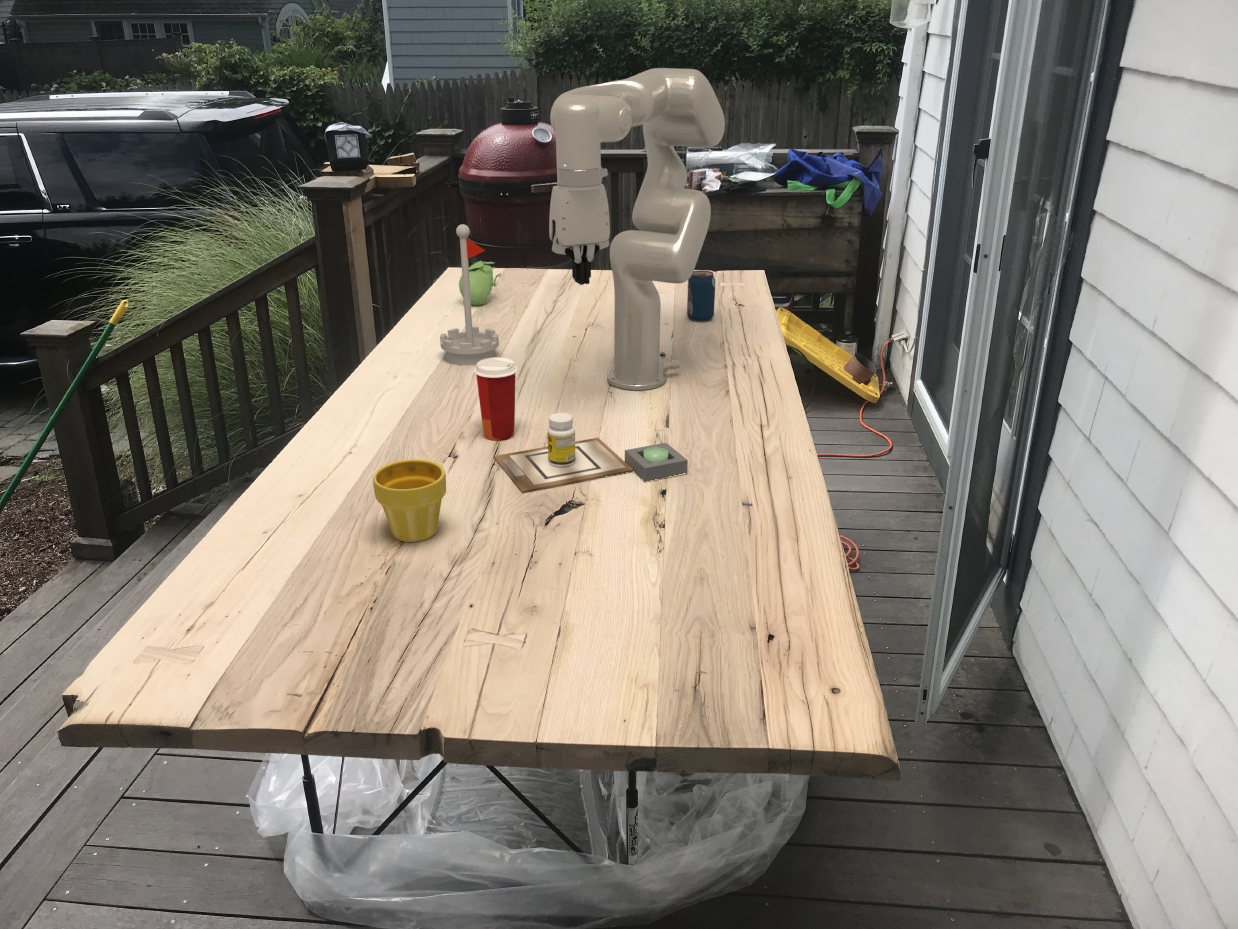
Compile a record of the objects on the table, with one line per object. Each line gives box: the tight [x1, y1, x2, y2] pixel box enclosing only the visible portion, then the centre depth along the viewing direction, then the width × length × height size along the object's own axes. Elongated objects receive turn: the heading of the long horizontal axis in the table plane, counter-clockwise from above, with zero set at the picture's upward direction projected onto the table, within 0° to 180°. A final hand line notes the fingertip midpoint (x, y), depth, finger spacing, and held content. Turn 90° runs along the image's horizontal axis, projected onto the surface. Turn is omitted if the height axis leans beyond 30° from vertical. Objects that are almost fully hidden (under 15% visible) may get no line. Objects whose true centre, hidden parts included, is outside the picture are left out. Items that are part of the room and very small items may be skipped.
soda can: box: [686, 269, 717, 323], centre depth 242 cm, size 7×7×12 cm
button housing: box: [624, 442, 689, 482], centre depth 162 cm, size 8×8×3 cm
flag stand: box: [439, 223, 500, 367], centre depth 210 cm, size 13×13×30 cm
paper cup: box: [473, 356, 518, 442], centre depth 173 cm, size 8×8×14 cm
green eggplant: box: [458, 260, 502, 306], centre depth 255 cm, size 12×11×11 cm
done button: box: [644, 447, 668, 463], centre depth 162 cm, size 4×4×3 cm
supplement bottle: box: [546, 412, 576, 467], centre depth 162 cm, size 5×5×8 cm
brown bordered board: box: [493, 437, 633, 494], centre depth 164 cm, size 20×15×1 cm
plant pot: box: [372, 458, 447, 543], centre depth 141 cm, size 10×10×10 cm
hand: (581, 282), depth 171 cm, fingers closed
